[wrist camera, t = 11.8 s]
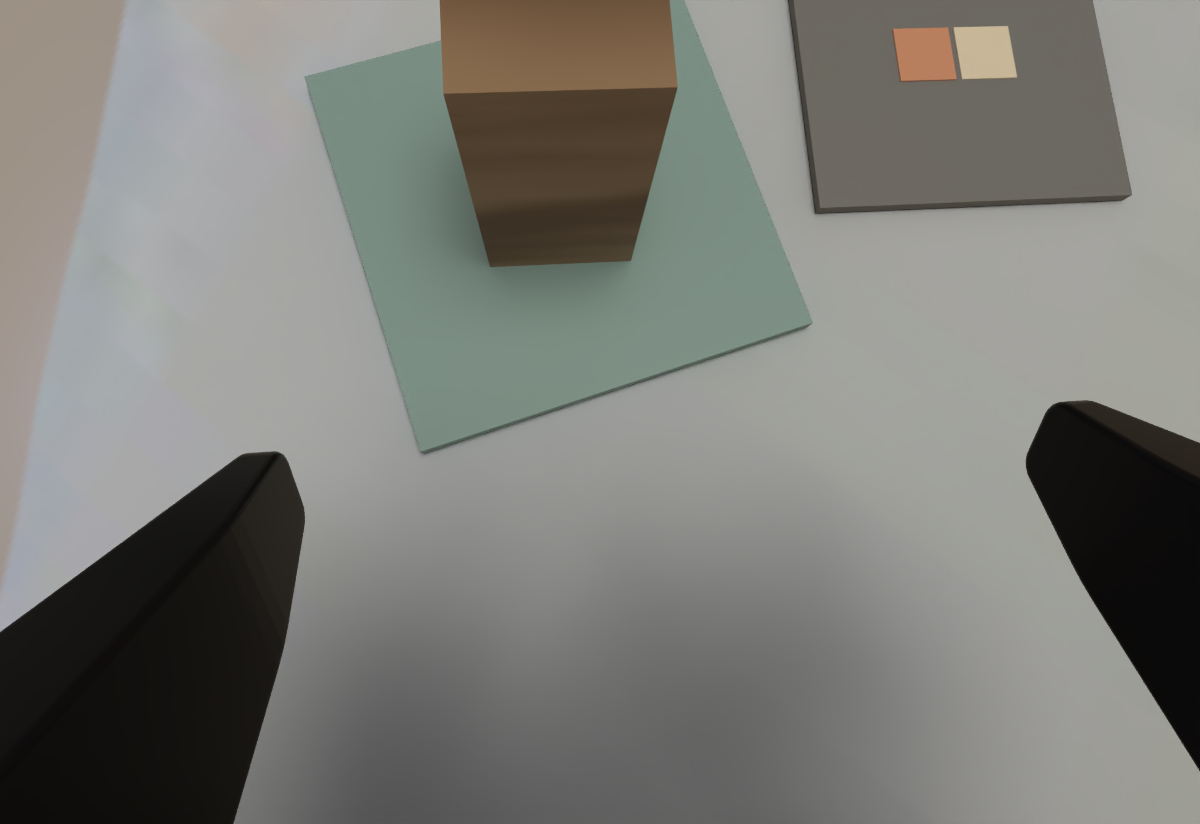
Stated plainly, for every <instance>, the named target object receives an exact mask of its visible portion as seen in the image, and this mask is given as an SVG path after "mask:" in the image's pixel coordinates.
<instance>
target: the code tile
mask: <svg viewBox="0 0 1200 824" xmlns="http://www.w3.org/2000/svg"><path fill="white" fill-rule="evenodd" d="M789 6H790V14H791V22H792V30H793V37H794V45H795V53H796V61H797V69H798V77H799V85H800V93H801V101H802V108H803V116H804V124H805V132H806V140H807V148H808V156H809V164H810V171H811V179H812V187H813V195H814V203H815V211H816V213H835V212H858V211H882V210H905V209H929V208H952V207H976V206H999V205H1023V204H1046V203H1070V202H1093V201H1117V200H1124V199H1126V198H1128V197H1129V196H1131V195H1132V192H1131V187H1130V182H1129V177H1128V172H1127V167H1126V162H1125V157H1124V152H1123V148H1122V143H1121V138H1120V133H1119V128H1118V123H1117V118H1116V113H1115V108H1114V103H1113V98H1112V93H1111V89H1110V84H1109V79H1108V74H1107V69H1106V64H1105V59H1104V54H1103V49H1102V44H1101V39H1100V34H1099V30H1098V25H1097V20H1096V15H1095V10H1094V5H1093V0H789Z"/></svg>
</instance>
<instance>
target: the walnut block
mask: <svg viewBox="0 0 1200 824" xmlns="http://www.w3.org/2000/svg"><path fill="white" fill-rule="evenodd" d="M440 18H441V45H442V73H443V95H444V98H445V102H446V106H447V109H448V113H449V117H450V121H451V124H452V128H453V132H454V135H455V139H456V143H457V146H458V150H459V154H460V158H461V161H462V165H463V169H464V172H465V176H466V180H467V183H468V187H469V191H470V195H471V198H472V202H473V206H474V209H475V213H476V217H477V221H478V224H479V228H480V232H481V235H482V239H483V243H484V246H485V250H486V254H487V258H488V261H489V265H490V267H506V266H528V265H551V264H573V263H596V262H619V261H631V259H632V255H633V251H634V248H635V244H636V240H637V237H638V233H639V229H640V225H641V222H642V218H643V214H644V211H645V207H646V203H647V200H648V196H649V192H650V188H651V185H652V181H653V177H654V174H655V170H656V166H657V162H658V159H659V155H660V151H661V148H662V144H663V140H664V136H665V133H666V129H667V125H668V122H669V118H670V114H671V110H672V107H673V103H674V99H675V96H676V92H677V88H678V84H677V74H676V63H675V53H674V42H673V31H672V21H671V10H670V0H440Z"/></svg>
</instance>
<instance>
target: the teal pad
mask: <svg viewBox="0 0 1200 824" xmlns="http://www.w3.org/2000/svg"><path fill="white" fill-rule="evenodd" d="M670 10H671V21H672V31H673V42H674V53H675V63H676V74H677V84H678V88H677V92H676V96H675V99H674V103H673V107H672V110H671V114H670V118H669V122H668V125H667V129H666V133H665V136H664V140H663V144H662V148H661V151H660V155H659V159H658V162H657V166H656V170H655V174H654V177H653V181H652V185H651V188H650V192H649V196H648V200H647V203H646V207H645V211H644V214H643V218H642V222H641V225H640V229H639V233H638V237H637V240H636V244H635V248H634V251H633V255H632V259H631V261H619V262H596V263H573V264H551V265H528V266H506V267H490V265H489V261H488V258H487V254H486V250H485V246H484V243H483V239H482V235H481V232H480V228H479V224H478V221H477V217H476V213H475V209H474V206H473V202H472V198H471V195H470V191H469V187H468V183H467V180H466V176H465V172H464V169H463V165H462V161H461V158H460V154H459V150H458V146H457V143H456V139H455V135H454V132H453V128H452V124H451V121H450V117H449V113H448V109H447V106H446V102H445V98H444V95H443V73H442V45H441V41H437V42H434V43H430V44H426V45H422V46H419V47H415V48H411V49H407V50H404V51H400V52H396V53H392V54H389V55H385V56H381V57H377V58H374V59H370V60H366V61H362V62H358V63H355V64H351V65H347V66H343V67H340V68H336V69H332V70H328V71H325V72H321V73H317V74H313V75H310V76H306V77H305V80H306V83H307V86H308V89H309V92H310V96H311V99H312V102H313V105H314V109H315V112H316V115H317V118H318V122H319V125H320V128H321V131H322V134H323V138H324V141H325V144H326V147H327V151H328V154H329V157H330V160H331V164H332V167H333V170H334V173H335V177H336V180H337V183H338V186H339V189H340V193H341V196H342V199H343V202H344V206H345V209H346V212H347V215H348V219H349V222H350V225H351V228H352V232H353V235H354V238H355V241H356V244H357V248H358V251H359V254H360V257H361V261H362V264H363V267H364V270H365V274H366V277H367V280H368V283H369V287H370V290H371V293H372V296H373V299H374V303H375V306H376V309H377V312H378V316H379V319H380V322H381V325H382V329H383V332H384V335H385V338H386V342H387V345H388V348H389V351H390V354H391V358H392V361H393V364H394V367H395V371H396V374H397V377H398V380H399V384H400V387H401V390H402V393H403V396H404V400H405V403H406V406H407V409H408V413H409V416H410V419H411V422H412V426H413V429H414V432H415V435H416V439H417V442H418V445H419V448H420V451H421V452H422V453H427V452H430V451H433V450H436V449H439V448H442V447H445V446H448V445H451V444H454V443H457V442H460V441H463V440H466V439H469V438H472V437H475V436H479V435H482V434H485V433H488V432H491V431H494V430H497V429H500V428H503V427H506V426H509V425H512V424H515V423H518V422H521V421H524V420H527V419H530V418H533V417H536V416H539V415H542V414H545V413H548V412H551V411H554V410H557V409H560V408H563V407H566V406H569V405H573V404H576V403H579V402H582V401H585V400H588V399H591V398H594V397H597V396H600V395H603V394H606V393H609V392H612V391H615V390H618V389H621V388H624V387H627V386H630V385H633V384H636V383H639V382H642V381H645V380H648V379H651V378H654V377H657V376H660V375H663V374H666V373H670V372H673V371H676V370H679V369H682V368H685V367H688V366H691V365H694V364H697V363H700V362H703V361H706V360H709V359H712V358H715V357H718V356H721V355H724V354H727V353H730V352H733V351H736V350H739V349H742V348H745V347H748V346H751V345H754V344H757V343H760V342H764V341H767V340H770V339H773V338H776V337H779V336H782V335H785V334H788V333H791V332H794V331H797V330H800V329H803V328H806V327H808V326H809V325H811V324H812V323H813V322H812V320H811V317H810V315H809V312H808V310H807V307H806V304H805V302H804V299H803V297H802V294H801V292H800V289H799V287H798V284H797V282H796V279H795V277H794V274H793V272H792V269H791V267H790V264H789V262H788V259H787V257H786V254H785V252H784V249H783V247H782V244H781V242H780V239H779V237H778V234H777V232H776V229H775V227H774V224H773V222H772V219H771V217H770V214H769V212H768V209H767V207H766V204H765V202H764V199H763V197H762V194H761V192H760V189H759V187H758V184H757V182H756V179H755V177H754V174H753V172H752V169H751V167H750V164H749V162H748V159H747V157H746V154H745V152H744V149H743V147H742V144H741V142H740V139H739V137H738V134H737V132H736V129H735V127H734V124H733V122H732V119H731V117H730V114H729V112H728V109H727V107H726V104H725V102H724V99H723V97H722V94H721V92H720V89H719V87H718V84H717V82H716V79H715V77H714V74H713V72H712V69H711V67H710V64H709V62H708V59H707V57H706V54H705V52H704V49H703V47H702V44H701V42H700V39H699V37H698V34H697V32H696V29H695V27H694V24H693V22H692V19H691V17H690V14H689V12H688V9H687V7H686V4H685V2H684V0H670Z"/></svg>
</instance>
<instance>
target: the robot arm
mask: <svg viewBox="0 0 1200 824" xmlns="http://www.w3.org/2000/svg"><path fill="white" fill-rule="evenodd" d="M1026 469H1027V474H1028V476H1029V478H1030V480H1031V482H1032V484H1033V486H1034V488H1035V490H1036V492H1037V494H1038V496H1039V498H1040V500H1041V502H1042V505H1043V507H1044V509H1045V511H1046V513H1047V515H1048V517H1049V519H1050V521H1051V523H1052V525H1053V527H1054V529H1055V531H1056V533H1057V535H1058V537H1059V539H1060V541H1061V543H1062V545H1063V547H1064V549H1065V551H1066V553H1067V555H1068V557H1069V559H1070V561H1071V563H1072V565H1073V567H1074V569H1075V571H1076V573H1077V574H1078V576H1079V578H1080V580H1081V582H1082V584H1083V585H1084V587H1085V589H1086V590H1087V592H1088V594H1089V595H1090V597H1091V599H1092V600H1093V602H1094V604H1095V605H1096V607H1097V608H1098V610H1099V612H1100V613H1101V615H1102V616H1103V618H1104V620H1105V621H1106V623H1107V624H1108V626H1109V627H1110V629H1111V631H1112V632H1113V634H1114V635H1115V637H1116V639H1117V640H1118V642H1119V643H1120V645H1121V647H1122V648H1123V650H1124V651H1125V653H1126V655H1127V656H1128V658H1129V659H1130V661H1131V662H1132V664H1133V666H1134V667H1135V669H1136V670H1137V672H1138V674H1139V675H1140V677H1141V678H1142V680H1143V682H1144V683H1145V685H1146V686H1147V688H1148V690H1149V691H1150V693H1151V694H1152V696H1153V697H1154V699H1155V701H1156V702H1157V704H1158V705H1159V707H1160V709H1161V710H1162V712H1163V713H1164V715H1165V717H1166V718H1167V720H1168V721H1169V723H1170V725H1171V726H1172V728H1173V729H1174V731H1175V732H1176V734H1177V736H1178V737H1179V739H1180V740H1181V742H1182V744H1183V745H1184V747H1185V748H1186V750H1187V752H1188V753H1189V755H1190V756H1191V758H1192V759H1193V761H1194V763H1195V764H1196V766H1197V767H1198V769H1199V771H1200V443H1199V442H1196V441H1193V440H1191V439H1188V438H1186V437H1183V436H1181V435H1178V434H1176V433H1173V432H1171V431H1168V430H1165V429H1163V428H1160V427H1158V426H1155V425H1153V424H1150V423H1148V422H1145V421H1143V420H1140V419H1137V418H1135V417H1132V416H1130V415H1127V414H1125V413H1122V412H1120V411H1117V410H1115V409H1112V408H1109V407H1107V406H1104V405H1102V404H1099V403H1097V402H1093V401H1087V400H1084V401H1068V402H1058V403H1056V404H1053V405H1052V406H1051V407H1050V408H1049V409H1048V410H1047V411H1046V413H1045V415H1044V417H1043V420H1042V422H1041V424H1040V426H1039V428H1038V431H1037V433H1036V435H1035V437H1034V439H1033V442H1032V444H1031V446H1030V448H1029V451H1028V453H1027V456H1026ZM304 525H305V512H304V506H303V503H302V500H301V497H300V494H299V491H298V489H297V486H296V483H295V480H294V477H293V475H292V472H291V469H290V466H289V463H288V461H287V459H286V458H285V456H284V455H283V454H281V453H279V452H276V451H274V452H258V453H246V454H243V455H240V456H239V457H237V458H236V459H234V460H233V461H232V462H230V463H229V464H228V465H226V466H225V467H224V468H222V469H221V470H220V471H218V472H217V473H215V474H214V475H213V476H211V477H210V478H209V479H207V480H206V481H205V482H203V483H202V484H201V485H199V486H198V487H196V488H195V489H194V490H192V491H191V492H190V493H188V494H187V495H186V496H184V497H183V498H182V499H180V500H179V501H177V502H176V503H175V504H173V505H172V506H171V507H169V508H168V509H167V510H165V511H164V512H163V513H161V514H160V515H159V516H157V517H156V518H154V519H153V520H152V521H150V522H149V523H148V524H146V525H145V526H144V527H142V528H141V529H140V530H138V531H137V532H135V533H134V534H133V535H131V536H130V537H129V538H127V539H126V540H125V541H123V542H122V543H121V544H119V545H118V546H116V547H115V548H114V549H112V550H111V551H110V552H108V553H107V554H106V555H104V556H103V557H102V558H100V559H99V560H97V561H96V562H95V563H93V564H92V565H91V566H89V567H88V568H87V569H85V570H84V571H83V572H81V573H80V574H78V575H77V576H76V577H74V578H73V579H72V580H70V581H69V582H68V583H66V584H65V585H64V586H62V587H61V588H59V589H58V590H57V591H55V592H54V593H53V594H51V595H50V596H49V597H47V598H46V599H44V600H43V601H42V602H40V603H39V604H38V605H36V606H35V607H34V608H32V609H31V610H30V611H28V612H27V613H25V614H24V615H23V616H21V617H20V618H19V619H17V620H16V621H15V622H13V623H12V624H11V625H9V626H8V627H6V628H5V629H4V630H2V631H1V632H0V824H233V823H234V820H235V816H236V813H237V809H238V806H239V802H240V799H241V796H242V792H243V789H244V785H245V782H246V778H247V775H248V771H249V768H250V764H251V761H252V758H253V754H254V751H255V747H256V744H257V740H258V737H259V733H260V730H261V727H262V723H263V720H264V716H265V713H266V709H267V706H268V702H269V699H270V696H271V692H272V689H273V685H274V682H275V678H276V675H277V671H278V668H279V664H280V660H281V657H282V653H283V649H284V645H285V639H286V634H287V629H288V623H289V617H290V611H291V605H292V599H293V593H294V587H295V581H296V575H297V568H298V562H299V556H300V550H301V544H302V538H303V532H304Z"/></svg>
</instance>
